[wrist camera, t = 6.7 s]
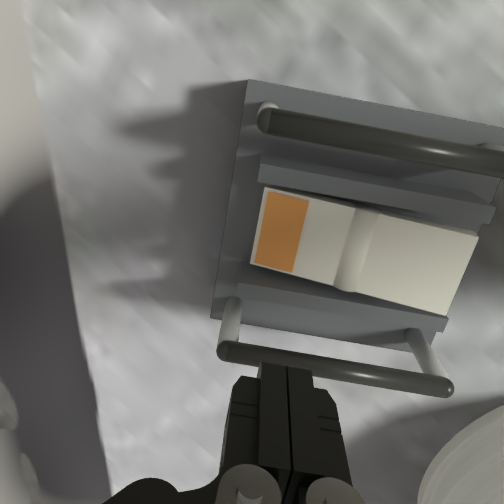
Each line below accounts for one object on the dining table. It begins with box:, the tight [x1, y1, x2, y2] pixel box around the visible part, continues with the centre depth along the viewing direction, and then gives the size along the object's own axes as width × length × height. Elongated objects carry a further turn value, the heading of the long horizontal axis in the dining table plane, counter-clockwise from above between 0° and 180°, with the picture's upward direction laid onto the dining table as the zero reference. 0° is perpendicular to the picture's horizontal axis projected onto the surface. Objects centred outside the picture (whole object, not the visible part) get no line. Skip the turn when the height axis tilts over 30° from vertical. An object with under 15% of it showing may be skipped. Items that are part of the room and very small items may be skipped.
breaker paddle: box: [250, 184, 479, 316], centre depth 24 cm, size 12×5×2 cm, turn 80°
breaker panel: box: [210, 79, 504, 398], centre depth 25 cm, size 16×16×10 cm
